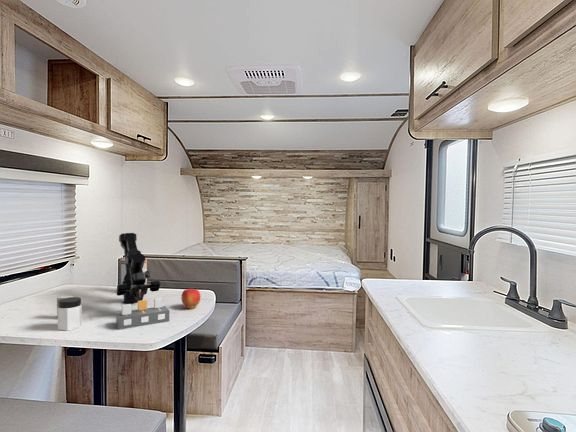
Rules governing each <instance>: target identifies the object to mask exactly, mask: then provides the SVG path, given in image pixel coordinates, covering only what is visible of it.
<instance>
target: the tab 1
mask: <svg viewBox="0 0 576 432" xmlns="http://www.w3.org/2000/svg"><path fill="white" fill-rule="evenodd" d="M131 311H132V304H121V312H122V315H128V314H131Z"/></svg>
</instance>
